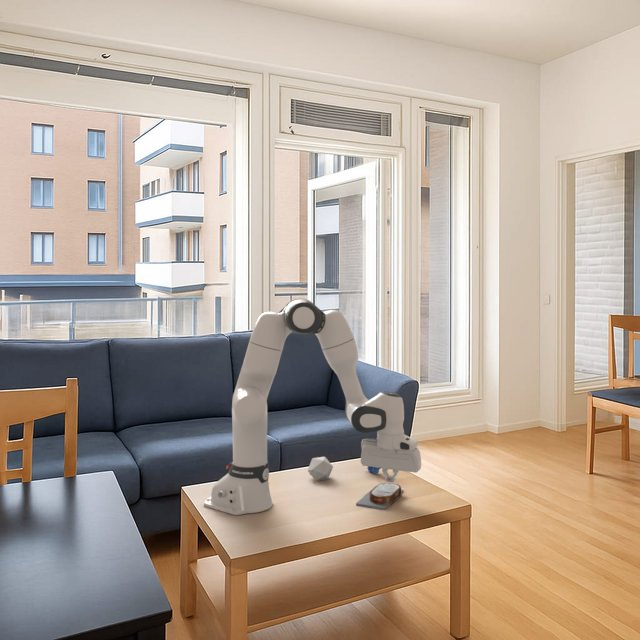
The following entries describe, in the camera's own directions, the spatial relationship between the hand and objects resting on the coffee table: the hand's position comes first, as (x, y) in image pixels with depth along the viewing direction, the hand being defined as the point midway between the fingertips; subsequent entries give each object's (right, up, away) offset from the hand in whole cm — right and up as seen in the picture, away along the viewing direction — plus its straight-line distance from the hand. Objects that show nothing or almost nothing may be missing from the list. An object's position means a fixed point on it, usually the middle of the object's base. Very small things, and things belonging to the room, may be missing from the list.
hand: (390, 481), depth 206 cm
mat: (-3, -6, +2) cm, 7 cm away
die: (-23, -5, +22) cm, 33 cm away
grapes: (-5, -4, +29) cm, 30 cm away
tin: (+2, -4, -1) cm, 5 cm away
